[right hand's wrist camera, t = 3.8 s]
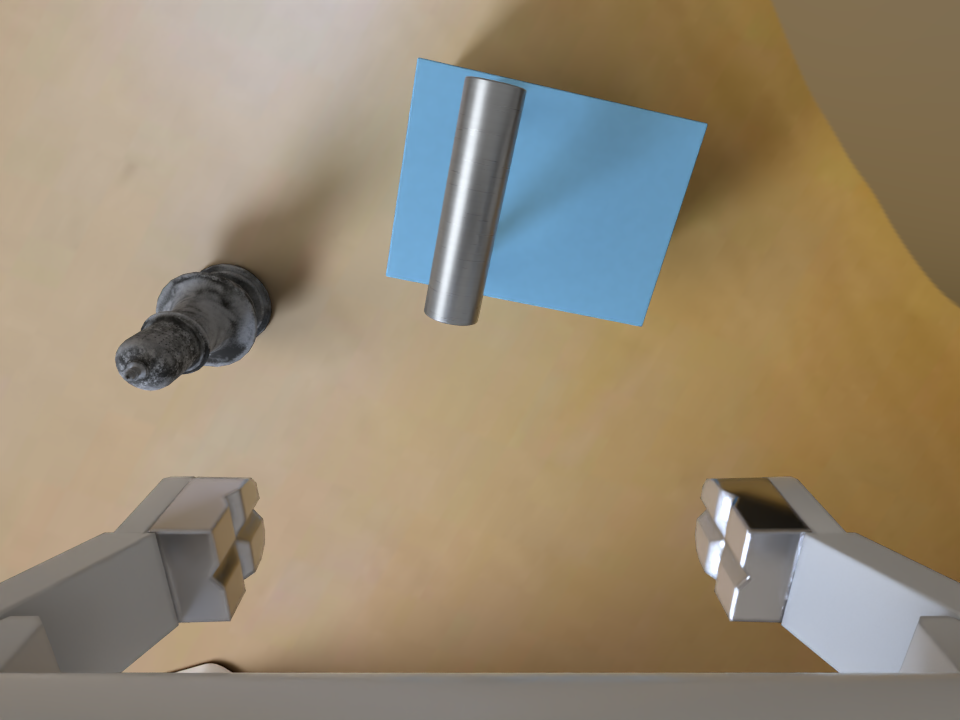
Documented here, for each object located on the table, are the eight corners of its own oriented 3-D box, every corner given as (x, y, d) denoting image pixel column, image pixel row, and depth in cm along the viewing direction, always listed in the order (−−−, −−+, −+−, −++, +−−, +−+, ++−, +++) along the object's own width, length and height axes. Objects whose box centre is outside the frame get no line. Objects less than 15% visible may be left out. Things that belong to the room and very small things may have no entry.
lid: (388, 271, 28) (353, 326, 20) (419, 59, 24) (392, 27, 17) (636, 320, 29) (695, 392, 21) (700, 123, 25) (798, 121, 18)
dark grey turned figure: (199, 242, 36) (75, 294, 25) (288, 285, 37) (207, 352, 26) (173, 322, 38) (46, 403, 27) (258, 360, 39) (170, 453, 28)
